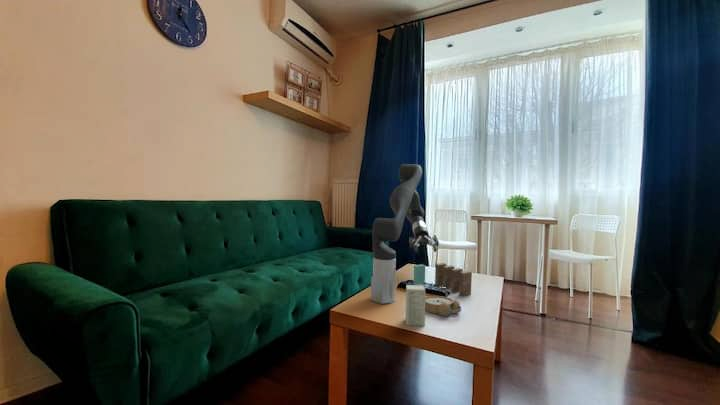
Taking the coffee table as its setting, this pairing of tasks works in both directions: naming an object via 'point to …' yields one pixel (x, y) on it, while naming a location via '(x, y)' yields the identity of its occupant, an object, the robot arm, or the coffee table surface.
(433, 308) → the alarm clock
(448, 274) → the domino
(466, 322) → the coffee table surface
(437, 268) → the domino
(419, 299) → the skincare box
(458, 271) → the domino
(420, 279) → the teal domino
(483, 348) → the coffee table surface
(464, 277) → the domino
